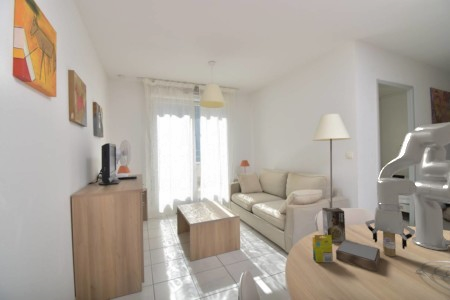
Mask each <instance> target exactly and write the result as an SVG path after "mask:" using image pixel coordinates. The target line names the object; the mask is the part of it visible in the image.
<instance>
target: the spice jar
mask: <svg viewBox="0 0 450 300" xmlns="http://www.w3.org/2000/svg"><path fill="white" fill-rule="evenodd" d="M387 230H390V229H387ZM396 244H397V243H396V234H393V233H390V232H383V231H382V247H383V251H382V253H383V254H384V255H386V256H389V257H396V256H397V253H396V252H397V251H396V247H397V246H396Z"/></svg>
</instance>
